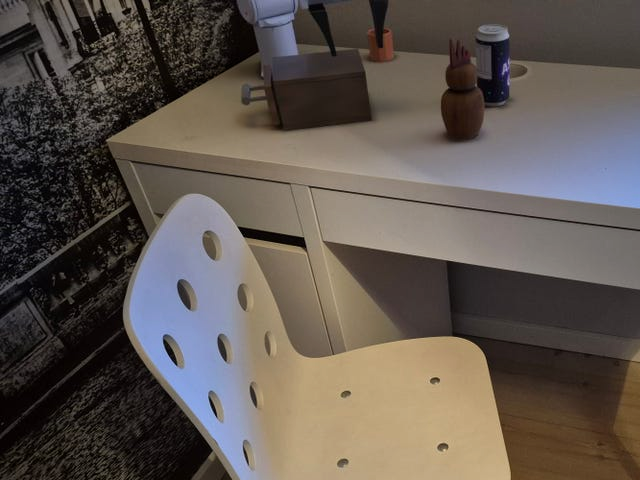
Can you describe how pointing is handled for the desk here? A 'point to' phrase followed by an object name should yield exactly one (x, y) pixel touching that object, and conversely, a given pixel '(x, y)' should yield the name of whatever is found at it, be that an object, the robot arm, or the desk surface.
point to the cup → (380, 53)
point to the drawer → (269, 93)
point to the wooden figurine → (462, 96)
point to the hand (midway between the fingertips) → (357, 51)
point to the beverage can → (493, 63)
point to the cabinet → (321, 89)
